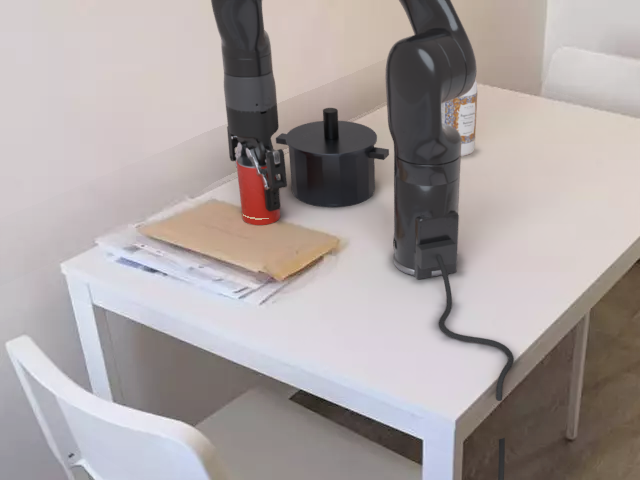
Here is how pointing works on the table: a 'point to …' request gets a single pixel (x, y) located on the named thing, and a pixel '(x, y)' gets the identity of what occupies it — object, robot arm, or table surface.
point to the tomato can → (253, 194)
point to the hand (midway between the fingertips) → (260, 199)
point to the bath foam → (462, 118)
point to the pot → (333, 176)
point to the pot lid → (331, 137)
